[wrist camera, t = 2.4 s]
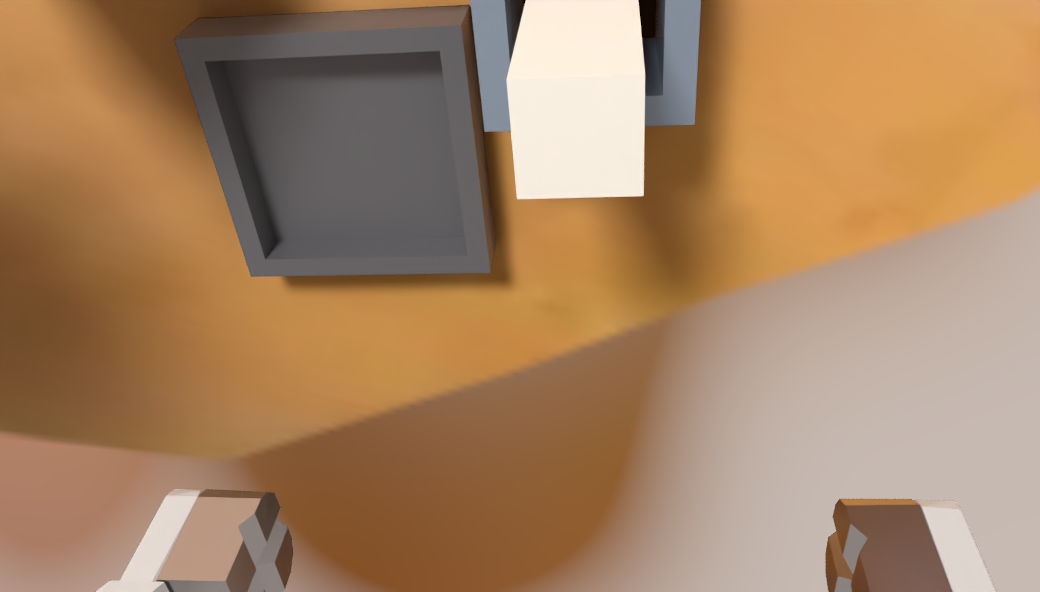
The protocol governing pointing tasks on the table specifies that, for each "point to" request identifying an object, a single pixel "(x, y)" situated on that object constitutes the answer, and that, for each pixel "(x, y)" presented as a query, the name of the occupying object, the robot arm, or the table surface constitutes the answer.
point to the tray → (347, 139)
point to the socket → (664, 55)
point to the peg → (578, 100)
